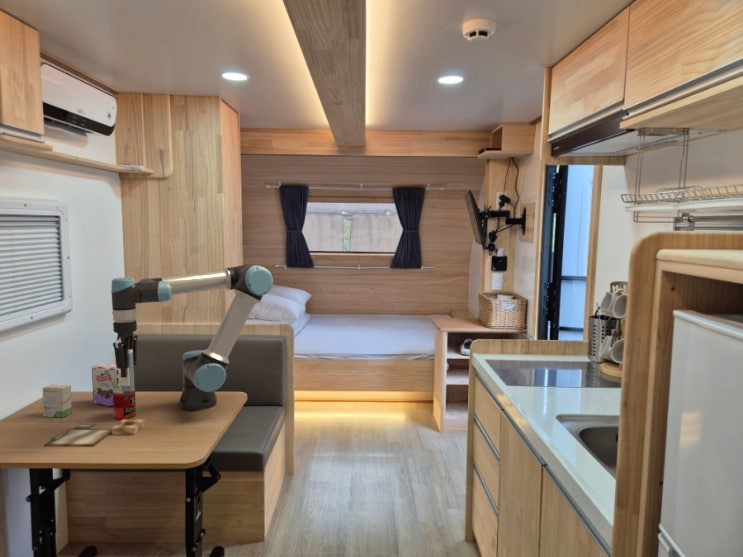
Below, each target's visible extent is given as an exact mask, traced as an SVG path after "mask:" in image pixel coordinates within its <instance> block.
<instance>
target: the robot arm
mask: <svg viewBox="0 0 743 557" xmlns="http://www.w3.org/2000/svg"><path fill="white" fill-rule="evenodd" d="M273 285H274V278H273V275H272V273H271V271H270V270H269V269H267V268H266V267H264V266H261V265H255V264H254V265H253V264H249V263H247V264H242V265H237V266H232V267H225V268H224V269H223V270H219V271H218V270H216V271H210V272H202V273H200V272H198V273H191V274H182V275H173V276H172V275H171V276H163V277H162V276H161V277H155V278H154V277H153V278H148V277H146V278H142V279H140V280H138V281H137V282H136V281H135V278H134V277H115V278H113V279H112V280H111V288H110V289H111V291H110V292H111V307H112V312H111V314H112V321H114V322H113V323H112V330H113V331H112V332H114V333H116V334H117V337H116V341H115V342H113V343H112V346H113V349H114V356H115V363H116V364H115V365H116V366H117V368H118V369H121V386H130V375H129V368H128V349H133V370H134V369H135V368H134V366H135V365H137V360H138V359H137V356H138V355H137V354H138V350H137V349H138V348H137V346H138V338H139V337H138V336H139V335H137V334H135V333H134V332H137V330H138V329H137V327H138V326H137V325H138V324H137V322H138V321H137V305H136V304H145V303H162V302H168V301H170V300H171V298H172V296H175V295H181V294H182V295H184V294H190V293H198V292H199V293H200V292H205V291H213V290H221V289H225V290H226V291H232V290H233V291H234V297H233V299H232V301H231V303H230V305H229V307H228V309H227V310H226V312H225V314H224V316H223V319H222V321H221V322H220V324H219V326H218V328H217V330H216V332H215V334H214V336H213V338H212V340H211V342H210V344H209V346H208V348H206V349H200V350H199V349H198V350H190V351H186V352H184V353H183V354H182V359H181V361H182V381H183V382H182V385H183V388H182V392H181V394H180V398H179V400H178V403H179V404H178V406H179V408H180V409H181V410H184V411H202V410H205V408H207V409H209V407H210V408H212V407H215V406H216V405H217V404H216V403H218V396H217V394H216V391H217V390H218V389H220V388H221V387H222V386H223V385H224V383H225V381H226V378H227V371H226V370H228V369H227V368H228V366H229V364H230V361H229V357H230V355H231V352H232V350H233V348H234V346H235V343H236V342H237V341H238V337H239V336H240V334H241V332H242V330H243V328H244V326H245V324H246V322H247V320H248V318H249V316H250V314H251V312H252V311H253V309H254V306H255V305H257V304H259V303H260V302H261V301H262V299H263V297H264V295H266V294H268V293H269V292H270V291H271V290H272V288H273ZM215 404H216V405H215ZM201 409H202V410H201Z"/></svg>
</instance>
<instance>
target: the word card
mask: <svg viewBox="0 0 743 557" xmlns="http://www.w3.org/2000/svg"><path fill="white" fill-rule="evenodd" d="M95 425H96V423H78V424H76V425H75V426H74V427H72V429H92V428H93V427H95Z"/></svg>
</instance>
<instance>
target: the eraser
mask: <svg viewBox="0 0 743 557" xmlns="http://www.w3.org/2000/svg"><path fill="white" fill-rule="evenodd" d="M133 367H134V365H133V349H128V368H129V375H130V386H121V389H122V391H123V395H131V394H133V390H134V388H135V371H134V370H133Z"/></svg>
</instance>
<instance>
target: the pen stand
mask: <svg viewBox="0 0 743 557" xmlns="http://www.w3.org/2000/svg"><path fill="white" fill-rule="evenodd" d="M145 422H146V421H145V419H143V418H142V419H139V418H137V419H134V418H130V419H123V420H119V422H117V423H116V424H115V425H114V426H112V427H111V430H112V433H111V435H116V436H117V435H118V436H119V435H121V436H125V435H127V436H134V435H136V434H137V433H139V432H140V431H141V430H142V429H143V428H144V427H146V426H145V425H146V424H145Z"/></svg>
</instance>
